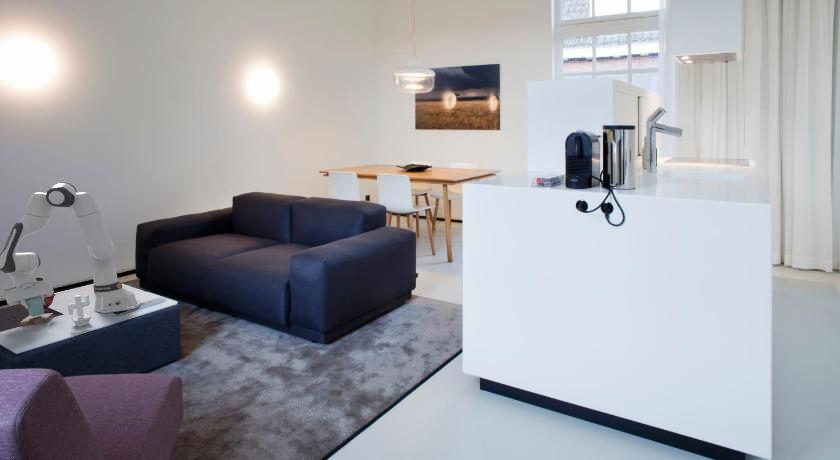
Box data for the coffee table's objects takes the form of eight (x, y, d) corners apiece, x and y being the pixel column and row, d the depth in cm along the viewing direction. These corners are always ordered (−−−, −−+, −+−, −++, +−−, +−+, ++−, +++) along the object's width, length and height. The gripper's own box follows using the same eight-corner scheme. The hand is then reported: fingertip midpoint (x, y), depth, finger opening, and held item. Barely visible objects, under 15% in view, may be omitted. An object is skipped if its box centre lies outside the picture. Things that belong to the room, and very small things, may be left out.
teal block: (40, 312, 290) (37, 297, 289) (44, 313, 288) (41, 298, 286) (29, 315, 286) (26, 300, 285) (33, 316, 284) (30, 301, 282)
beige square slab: (53, 316, 294) (53, 312, 294) (45, 323, 284) (45, 319, 283) (30, 318, 292) (29, 315, 291) (20, 325, 281) (20, 322, 281)
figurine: (69, 325, 279) (64, 296, 277) (90, 320, 286) (86, 292, 283) (72, 328, 274) (68, 299, 272) (94, 323, 281) (90, 294, 278)
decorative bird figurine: (59, 309, 306) (56, 291, 304) (20, 317, 294) (17, 299, 292) (57, 308, 308) (55, 290, 306) (19, 316, 296) (15, 298, 294)
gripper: (2, 286, 280) (13, 308, 276) (47, 276, 296) (58, 297, 292) (0, 293, 283) (11, 315, 279) (45, 283, 299) (56, 304, 296)
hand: (35, 306), depth 286 cm, fingers closed on teal block, 5 cm apart
